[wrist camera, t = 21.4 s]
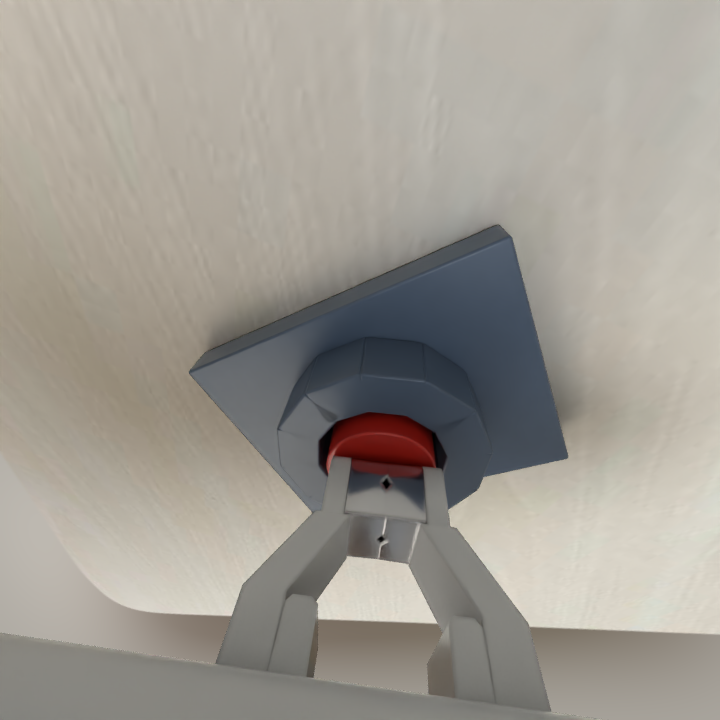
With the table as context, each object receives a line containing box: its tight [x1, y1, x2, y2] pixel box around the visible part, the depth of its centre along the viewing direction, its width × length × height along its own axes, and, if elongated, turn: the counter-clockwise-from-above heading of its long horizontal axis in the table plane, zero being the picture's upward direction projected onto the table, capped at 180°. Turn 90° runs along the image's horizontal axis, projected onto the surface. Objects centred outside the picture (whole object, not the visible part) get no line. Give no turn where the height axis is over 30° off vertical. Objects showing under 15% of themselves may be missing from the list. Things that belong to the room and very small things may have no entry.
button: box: [326, 412, 436, 474], centre depth 10 cm, size 3×3×2 cm
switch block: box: [189, 225, 568, 512], centre depth 11 cm, size 10×8×3 cm
